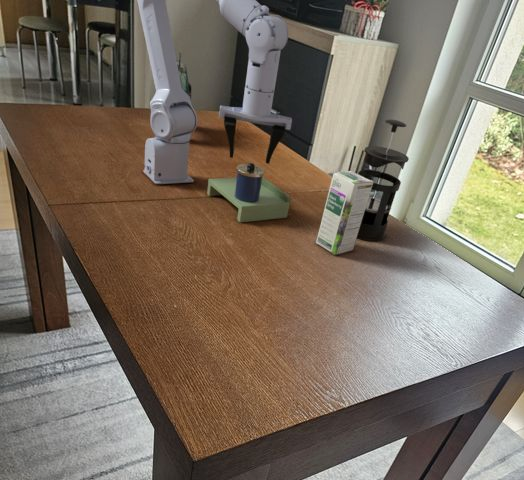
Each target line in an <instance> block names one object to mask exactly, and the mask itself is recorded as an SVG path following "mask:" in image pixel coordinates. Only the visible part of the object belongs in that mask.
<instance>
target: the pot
mask: <svg viewBox="0 0 524 480" xmlns="http://www.w3.org/2000/svg"><path fill="white" fill-rule="evenodd" d="M235 171H236V178H237V180H236V188H235V198H237V199H238V200H240V201H244V202H257V201H258V200H259V196H260V189H261V183H262V177H264V176H265V172H266V171H265V169H264V168H262V167H260V166H258V165H255V164H254V163H253V162H249V163H242V164H238V165H237V166H236V169H235Z"/></svg>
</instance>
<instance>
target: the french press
mask: <svg viewBox="0 0 524 480" xmlns="http://www.w3.org/2000/svg"><path fill="white" fill-rule="evenodd" d="M384 122H385V123H386V124H387V125H390V126H391V130H390V132H391V135H390V139H389V141H388V145H387V147H383V146H374V145H371V146H366V147H365V148H364V153H365V155H364V160H363V162H364V163H365V164H367V165H368V166H370V167H373V168H376V169H377V168H378V169H379V168H380V171H379V170H375V169H371V168H369V167H362V168H361V170H359V171H358V172H357V174H358V175H360V176H362V177H364V178H366V179H369V180H372V179H373V178H378V179H377V181H376V182H373V185H372V188H371V191H372V190H373V191H374V192H373V195H372V196H369V198H368V202H367V205H366V208H365V211H364V215H363V218H362V222H361V225H360V228H359V231H358V235H357V238H356V239H358V240H363V241H367V242H379V241H382V240H384V239H385V236H386V230H387V226H388V223H389V220H388V218H389V216H390V212H391V210H392V206H393V202H394V199H395V196H396V193H397V192H398V191H399V190H400V188H401V184H402V181H401V180H400V179H399V178H398V177H396V176H395V175H392V174H389V173H387V172H383V170H384V166H386V165H389V164H397V165H398V166H400V168H401V170H404V168H405V165H406V163H408V162H409V160H410V158H409V156H407V155H406V154H404V153H403V152H400V151H398V150H395V149H392V148H391V144H392V140H393V137H394V134H395V133H396V132H397V129H398V127H399V128H406V127H407V124H406V123H405V122H403V121H400V120H397V119H385V121H384ZM380 180H385V181H387V182H390V183H391V184H392V185H385V184H380ZM377 192H381V193H382V195H381V198H377V197H376V194H377Z"/></svg>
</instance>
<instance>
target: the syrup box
mask: <svg viewBox="0 0 524 480" xmlns="http://www.w3.org/2000/svg"><path fill="white" fill-rule="evenodd" d="M373 183H374V180H372V179H371V180H369V179H366V178H364V177H362V176H360V175H358V173H356V172H355V171H353V170H342V171H341V170H340V171H336V172H334V173H333V174H332V178H331V180H330V184H329V189H328V193H327V197H326V201H325V206H324V209H323V213H322V216H321V217H322V218H321V222H320V226H319V229H318V233H317V237H316V240H315V244H316V245H318V246H320V247H321V248H323V249H325V250H327V252H330V253H331V254H332V255H334V256H337V255H341V254H344V253H347V252H351V251H353V250H354V247H355V245H356V241H357V239H358V238H357V235H358V231H359V228H360V225H361V222H362V218H363V215H364V211H365V208H366V205H367V202H368V198H369V197H370V194H371V191H372V189H371V188H372V185H373Z"/></svg>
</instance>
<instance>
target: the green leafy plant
mask: <svg viewBox="0 0 524 480" xmlns="http://www.w3.org/2000/svg"><path fill="white" fill-rule="evenodd" d="M177 56H178V60H177V66H178V71H179V77H180V82H181V87H182V89H183V90H184V91H185V92H186V93H187V94H188V96H189V97H190V100H191V101H192V84H191V83H190V81H189V77H188V70H187V64H186V62H181V57H182V54H181V52H178V55H177ZM170 106H173V105H172V104H171V105H170Z"/></svg>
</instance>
